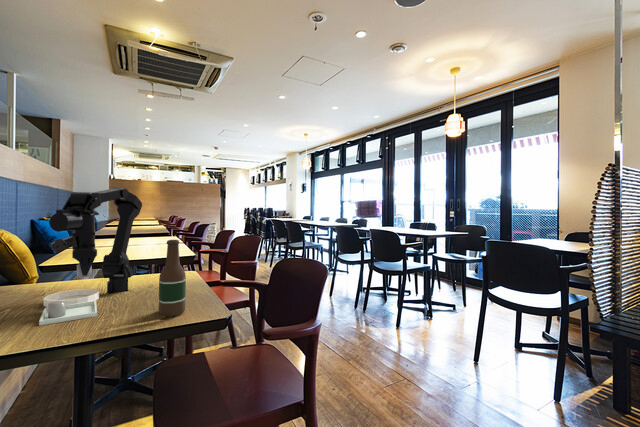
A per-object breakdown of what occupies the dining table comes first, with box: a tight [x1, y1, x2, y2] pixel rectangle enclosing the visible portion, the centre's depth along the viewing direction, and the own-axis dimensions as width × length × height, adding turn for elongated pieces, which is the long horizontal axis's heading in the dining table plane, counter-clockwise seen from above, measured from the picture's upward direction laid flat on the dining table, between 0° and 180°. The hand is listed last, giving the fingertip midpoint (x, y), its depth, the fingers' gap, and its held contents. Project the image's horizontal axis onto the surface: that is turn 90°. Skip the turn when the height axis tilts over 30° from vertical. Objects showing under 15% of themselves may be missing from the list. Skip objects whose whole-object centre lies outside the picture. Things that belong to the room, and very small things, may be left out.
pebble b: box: [47, 301, 66, 318], centre depth 91 cm, size 4×4×4 cm
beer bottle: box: [158, 239, 187, 318], centre depth 97 cm, size 8×8×24 cm
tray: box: [38, 300, 98, 327], centre depth 93 cm, size 13×14×2 cm
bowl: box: [43, 288, 100, 308], centre depth 106 cm, size 15×15×3 cm
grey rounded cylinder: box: [76, 264, 93, 279], centre depth 102 cm, size 4×4×4 cm
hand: (84, 274), depth 102 cm, fingers closed on grey rounded cylinder, 4 cm apart
